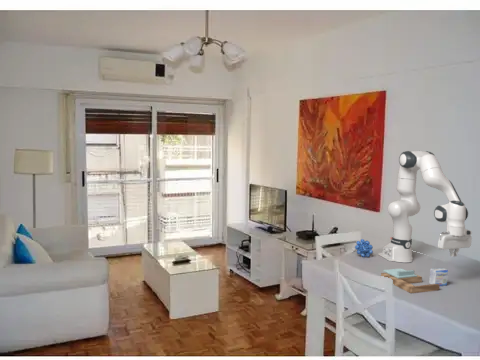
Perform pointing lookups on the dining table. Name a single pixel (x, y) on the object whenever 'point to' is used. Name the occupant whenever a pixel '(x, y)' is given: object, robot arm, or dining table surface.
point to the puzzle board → (407, 286)
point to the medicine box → (438, 276)
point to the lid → (400, 273)
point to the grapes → (363, 248)
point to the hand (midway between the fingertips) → (453, 256)
